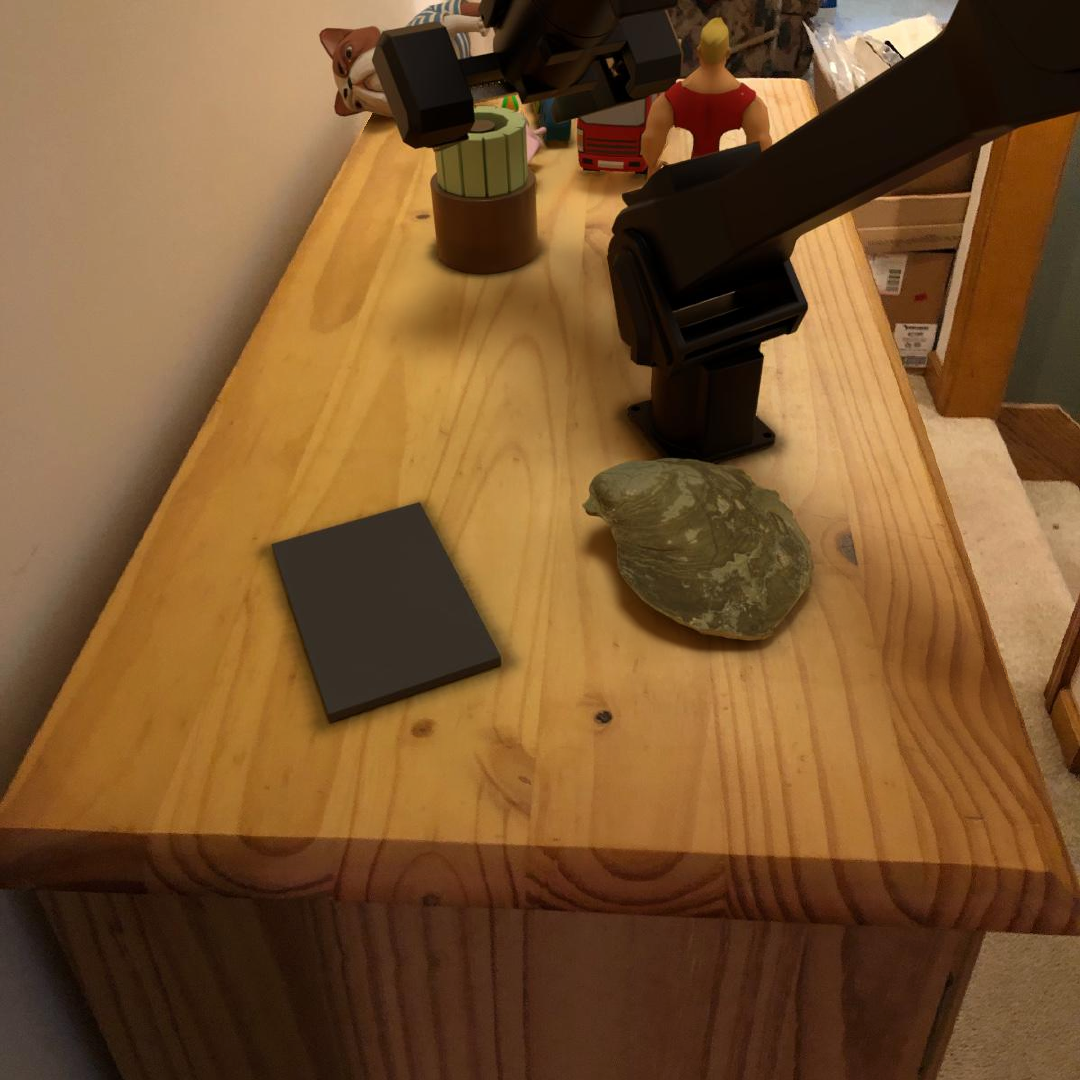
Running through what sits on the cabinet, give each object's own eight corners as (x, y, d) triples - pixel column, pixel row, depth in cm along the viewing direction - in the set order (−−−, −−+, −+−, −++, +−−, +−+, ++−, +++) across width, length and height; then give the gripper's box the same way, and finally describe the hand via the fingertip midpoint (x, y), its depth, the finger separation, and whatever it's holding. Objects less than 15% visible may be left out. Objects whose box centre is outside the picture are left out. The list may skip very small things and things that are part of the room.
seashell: (800, 643, 44) (664, 464, 42) (669, 701, 48) (540, 540, 46) (828, 532, 52) (715, 378, 51) (714, 589, 57) (606, 449, 55)
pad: (501, 665, 46) (501, 656, 46) (330, 722, 44) (328, 714, 44) (421, 509, 54) (419, 501, 54) (273, 552, 52) (270, 543, 52)
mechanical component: (525, 46, 101) (555, 46, 101) (524, 87, 103) (553, 86, 104) (542, 103, 88) (577, 102, 89) (541, 147, 91) (574, 147, 91)
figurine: (471, 131, 93) (322, 131, 96) (524, 71, 106) (391, 73, 110) (458, 33, 87) (301, 37, 91) (516, -17, 101) (377, -12, 104)
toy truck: (571, 190, 84) (570, 62, 77) (614, 103, 99) (616, -10, 92) (653, 195, 83) (659, 66, 76) (685, 107, 98) (692, -8, 91)
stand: (553, 260, 75) (550, 133, 69) (457, 282, 73) (445, 153, 67) (515, 220, 81) (509, 99, 74) (424, 239, 79) (410, 116, 72)
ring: (540, 186, 72) (539, 129, 69) (455, 203, 70) (450, 146, 67) (507, 155, 76) (504, 100, 74) (426, 171, 75) (421, 115, 72)
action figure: (762, 221, 79) (787, 12, 69) (761, 242, 76) (788, 27, 66) (640, 216, 80) (648, 9, 70) (635, 236, 78) (643, 24, 68)
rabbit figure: (476, 149, 95) (479, 188, 82) (471, 79, 91) (473, 109, 79) (543, 145, 95) (556, 184, 82) (541, 76, 92) (553, 105, 79)
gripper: (669, -174, 57) (572, -4, 72) (358, -136, 51) (321, 43, 65) (739, 12, 57) (628, 144, 72) (439, 73, 51) (384, 204, 66)
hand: (495, 130), depth 69 cm, fingers open, 9 cm apart
